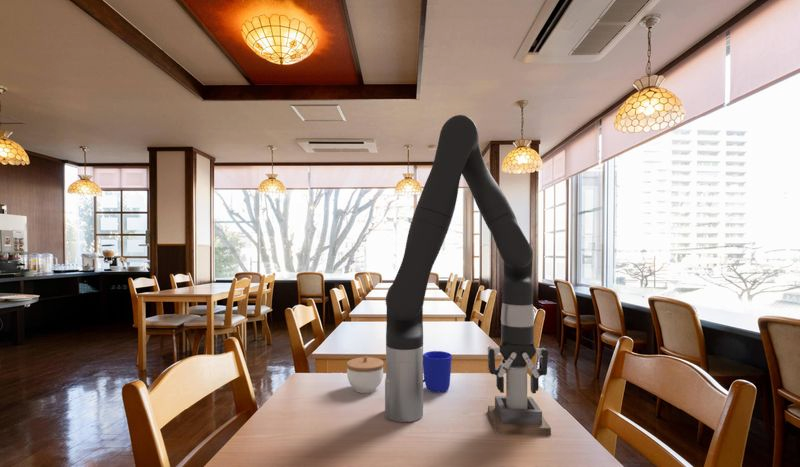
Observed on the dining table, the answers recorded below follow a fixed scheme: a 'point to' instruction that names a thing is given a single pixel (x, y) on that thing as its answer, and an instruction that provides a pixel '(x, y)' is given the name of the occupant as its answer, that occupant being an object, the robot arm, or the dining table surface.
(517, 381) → the beverage can
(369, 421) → the dining table surface
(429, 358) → the mug
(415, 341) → the robot arm
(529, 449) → the dining table surface
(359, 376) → the lidded jar
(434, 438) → the dining table surface
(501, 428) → the can holder
